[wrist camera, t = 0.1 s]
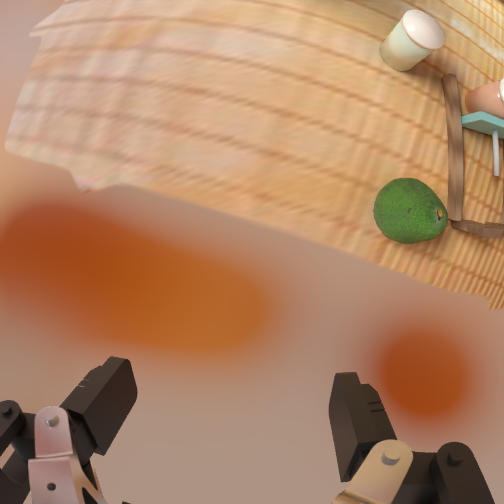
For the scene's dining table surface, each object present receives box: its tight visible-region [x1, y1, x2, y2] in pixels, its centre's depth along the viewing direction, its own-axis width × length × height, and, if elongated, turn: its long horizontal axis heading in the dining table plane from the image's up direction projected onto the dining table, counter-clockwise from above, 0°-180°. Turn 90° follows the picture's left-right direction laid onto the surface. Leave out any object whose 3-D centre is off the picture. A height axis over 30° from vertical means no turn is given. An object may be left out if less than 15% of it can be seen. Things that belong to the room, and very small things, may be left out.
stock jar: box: [465, 78, 504, 119], centre depth 26 cm, size 6×6×10 cm
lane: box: [442, 74, 504, 238], centre depth 29 cm, size 23×14×8 cm, turn 0°
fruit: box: [374, 178, 448, 244], centre depth 30 cm, size 8×8×12 cm
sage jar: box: [380, 10, 445, 71], centre depth 26 cm, size 6×6×10 cm
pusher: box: [461, 111, 504, 176], centre depth 29 cm, size 8×11×6 cm
